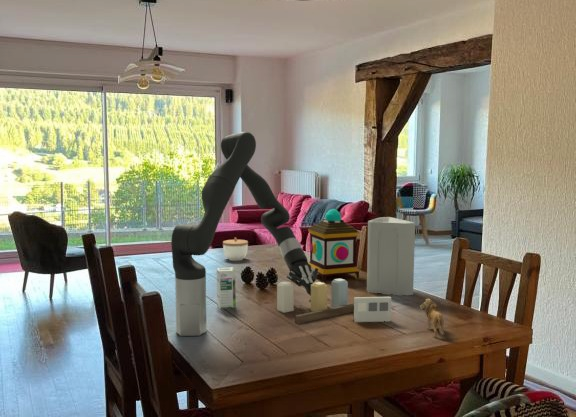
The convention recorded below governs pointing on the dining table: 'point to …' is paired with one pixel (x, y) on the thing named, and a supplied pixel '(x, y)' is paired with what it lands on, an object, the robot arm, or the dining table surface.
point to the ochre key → (318, 296)
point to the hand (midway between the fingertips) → (313, 294)
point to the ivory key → (285, 296)
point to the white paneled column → (390, 256)
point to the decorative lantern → (333, 246)
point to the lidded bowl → (235, 249)
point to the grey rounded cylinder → (339, 292)
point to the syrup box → (226, 288)
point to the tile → (372, 309)
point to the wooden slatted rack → (322, 313)
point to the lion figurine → (433, 316)
